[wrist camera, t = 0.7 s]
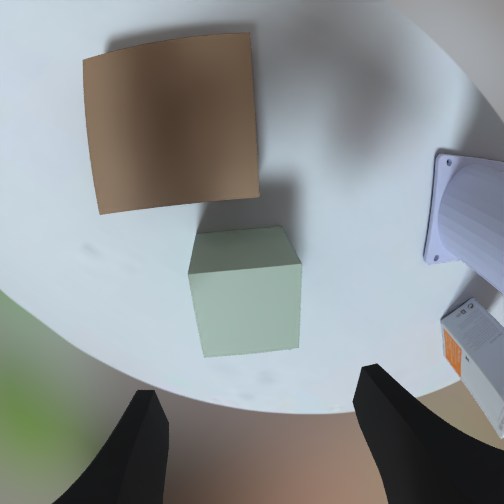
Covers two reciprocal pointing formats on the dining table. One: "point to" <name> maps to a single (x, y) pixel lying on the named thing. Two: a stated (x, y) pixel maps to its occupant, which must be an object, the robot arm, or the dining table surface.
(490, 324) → the skincare box
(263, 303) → the sage cube
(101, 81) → the walnut block
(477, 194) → the robot arm
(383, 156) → the dining table surface
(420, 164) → the dining table surface
